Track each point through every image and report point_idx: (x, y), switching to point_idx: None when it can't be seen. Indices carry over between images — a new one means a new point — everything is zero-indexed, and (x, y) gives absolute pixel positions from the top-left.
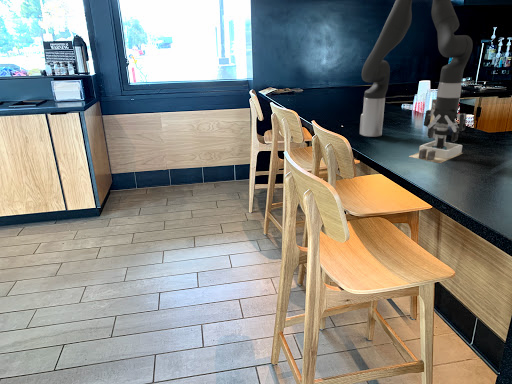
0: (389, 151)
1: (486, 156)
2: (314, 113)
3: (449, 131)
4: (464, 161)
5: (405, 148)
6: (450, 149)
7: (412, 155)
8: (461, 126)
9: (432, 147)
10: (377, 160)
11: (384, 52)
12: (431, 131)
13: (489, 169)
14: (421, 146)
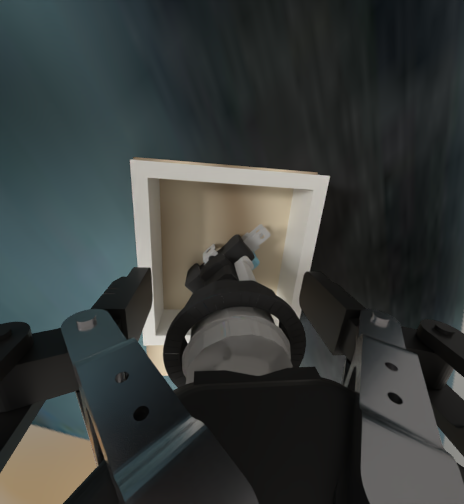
0: (5, 317)
1: (410, 92)
2: None
3: (303, 341)
4: (332, 252)
5: (6, 214)
6: (297, 313)
7: (152, 356)
8: (454, 415)
9: (193, 292)
10: (82, 430)
11: None
12: (137, 331)
13: (418, 290)
14: (155, 343)
